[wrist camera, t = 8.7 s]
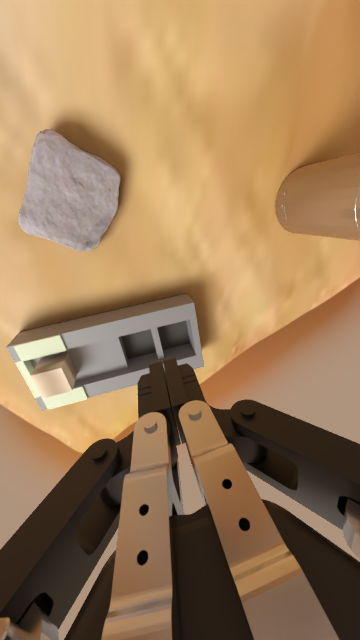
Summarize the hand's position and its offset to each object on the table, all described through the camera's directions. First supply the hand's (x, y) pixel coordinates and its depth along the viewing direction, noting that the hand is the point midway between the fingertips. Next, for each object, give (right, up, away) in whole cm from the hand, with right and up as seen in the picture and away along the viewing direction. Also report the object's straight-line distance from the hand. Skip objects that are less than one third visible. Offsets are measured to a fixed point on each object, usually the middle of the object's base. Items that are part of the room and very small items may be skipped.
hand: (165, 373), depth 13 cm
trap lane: (-10, -1, +27) cm, 29 cm away
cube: (-17, -4, +23) cm, 29 cm away
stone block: (-12, +18, +18) cm, 29 cm away
